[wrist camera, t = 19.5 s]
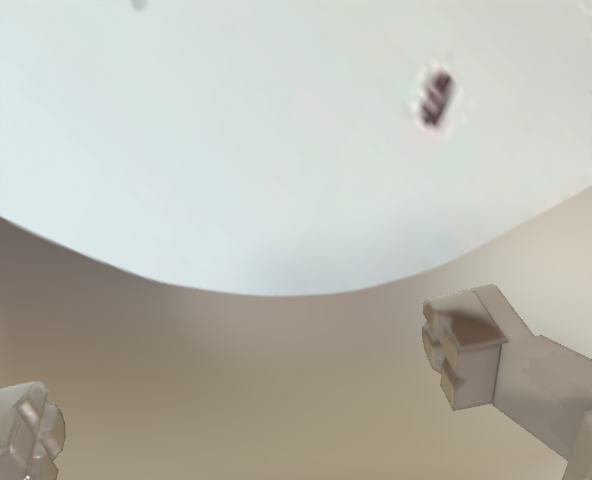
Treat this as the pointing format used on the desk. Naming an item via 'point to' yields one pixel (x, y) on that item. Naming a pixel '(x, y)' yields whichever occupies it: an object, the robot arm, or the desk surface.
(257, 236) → the desk surface
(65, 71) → the desk surface
